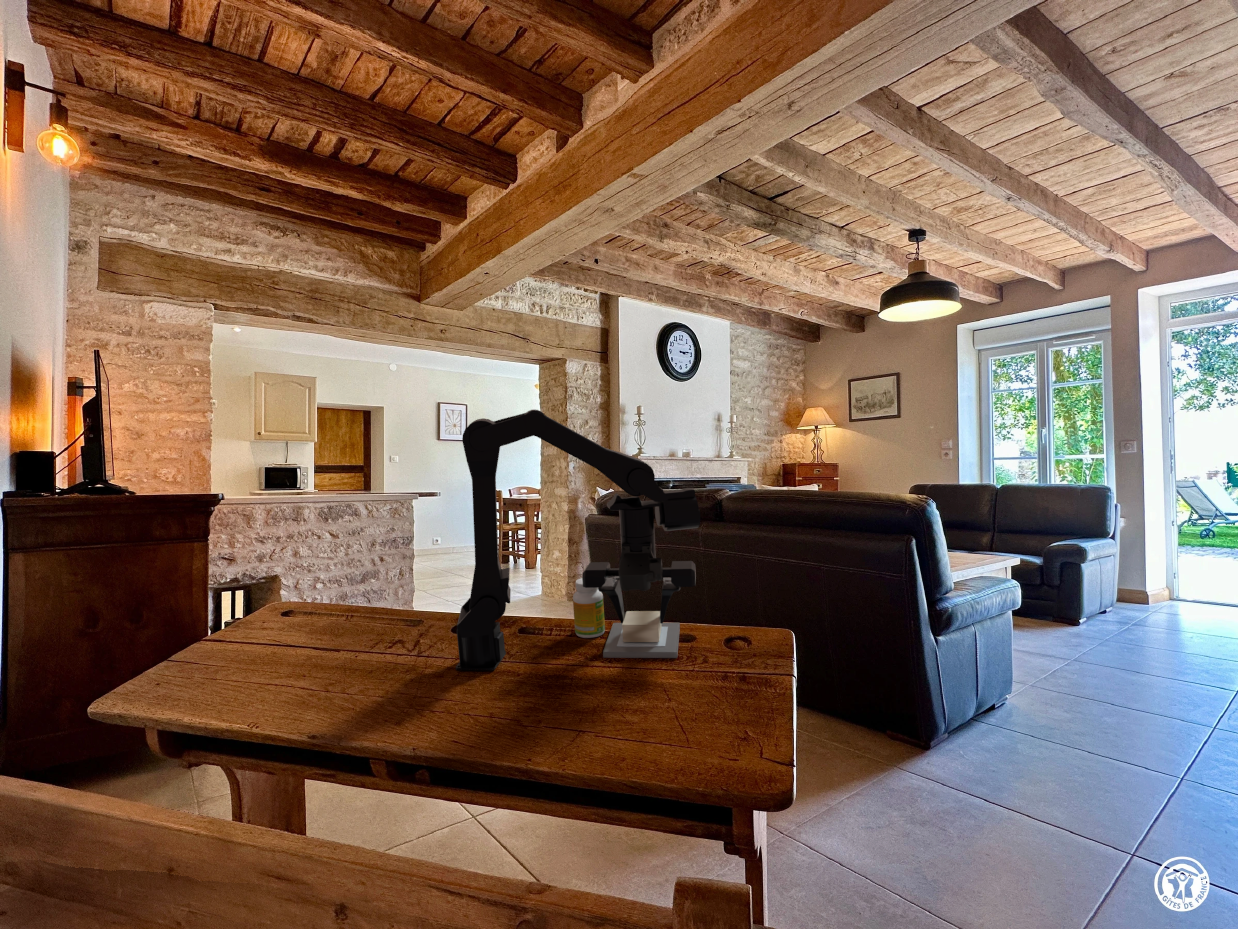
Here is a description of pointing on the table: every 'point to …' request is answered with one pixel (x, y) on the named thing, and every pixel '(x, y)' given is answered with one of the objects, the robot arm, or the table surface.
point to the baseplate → (643, 644)
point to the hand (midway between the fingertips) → (642, 622)
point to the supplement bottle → (588, 611)
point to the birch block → (641, 626)
